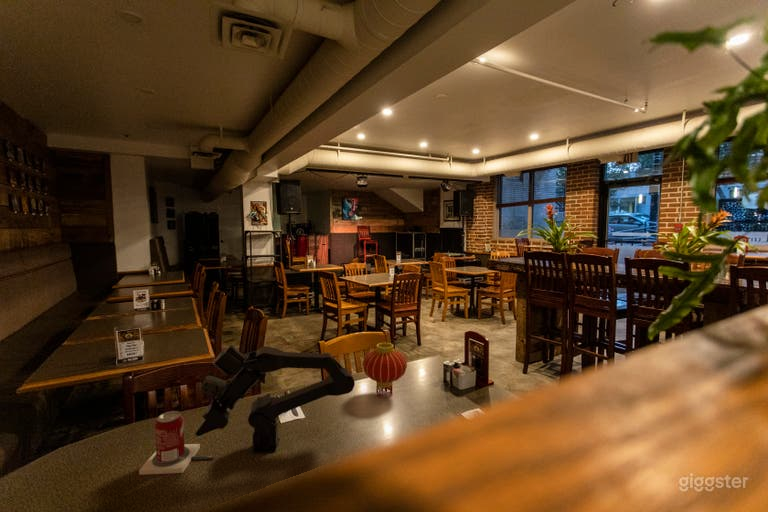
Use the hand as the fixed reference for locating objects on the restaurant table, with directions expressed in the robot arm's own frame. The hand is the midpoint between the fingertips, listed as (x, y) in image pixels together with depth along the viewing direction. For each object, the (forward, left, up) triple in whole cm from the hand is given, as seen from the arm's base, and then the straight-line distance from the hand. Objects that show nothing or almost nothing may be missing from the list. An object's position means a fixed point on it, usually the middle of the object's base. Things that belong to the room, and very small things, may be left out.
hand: (200, 426), depth 103 cm
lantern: (-56, -34, -9) cm, 66 cm away
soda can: (+7, +2, -8) cm, 11 cm away
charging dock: (+4, +2, -9) cm, 10 cm away
